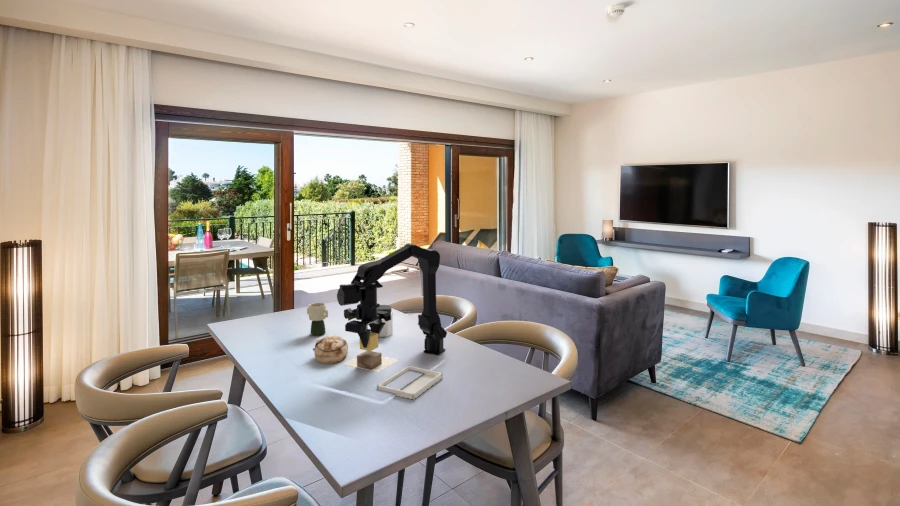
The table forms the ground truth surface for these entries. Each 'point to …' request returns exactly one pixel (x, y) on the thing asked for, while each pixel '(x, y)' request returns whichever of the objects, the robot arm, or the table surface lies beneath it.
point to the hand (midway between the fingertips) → (369, 345)
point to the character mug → (317, 317)
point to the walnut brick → (369, 360)
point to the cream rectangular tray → (413, 383)
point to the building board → (385, 363)
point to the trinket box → (330, 349)
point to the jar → (388, 326)
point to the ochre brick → (371, 342)
